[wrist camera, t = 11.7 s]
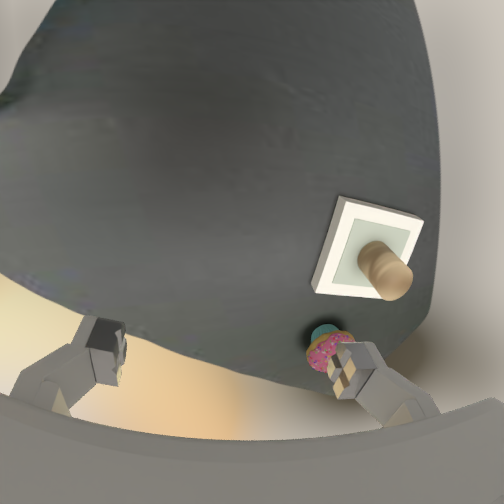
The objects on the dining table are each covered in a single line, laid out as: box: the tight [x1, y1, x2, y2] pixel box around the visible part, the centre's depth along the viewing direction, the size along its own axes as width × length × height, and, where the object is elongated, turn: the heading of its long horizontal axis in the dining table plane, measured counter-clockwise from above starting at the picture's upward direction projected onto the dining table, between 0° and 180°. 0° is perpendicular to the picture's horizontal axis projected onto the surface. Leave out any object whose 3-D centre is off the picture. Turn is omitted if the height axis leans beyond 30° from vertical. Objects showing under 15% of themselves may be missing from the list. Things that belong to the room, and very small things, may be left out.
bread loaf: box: [357, 241, 413, 301], centre depth 38 cm, size 5×5×7 cm
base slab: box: [311, 196, 424, 299], centre depth 43 cm, size 14×14×3 cm
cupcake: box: [306, 324, 355, 373], centre depth 46 cm, size 9×8×12 cm
